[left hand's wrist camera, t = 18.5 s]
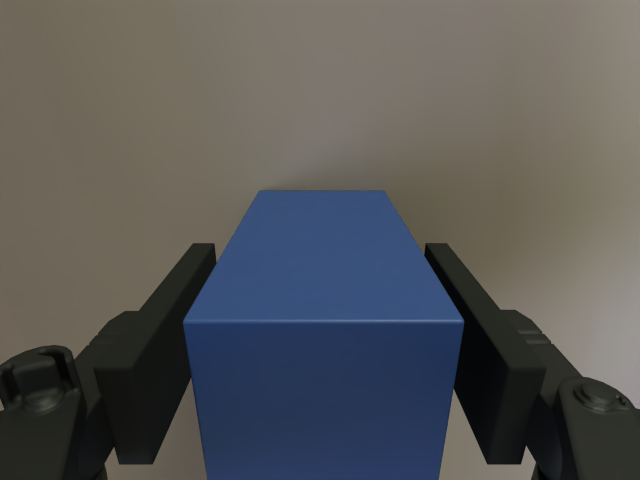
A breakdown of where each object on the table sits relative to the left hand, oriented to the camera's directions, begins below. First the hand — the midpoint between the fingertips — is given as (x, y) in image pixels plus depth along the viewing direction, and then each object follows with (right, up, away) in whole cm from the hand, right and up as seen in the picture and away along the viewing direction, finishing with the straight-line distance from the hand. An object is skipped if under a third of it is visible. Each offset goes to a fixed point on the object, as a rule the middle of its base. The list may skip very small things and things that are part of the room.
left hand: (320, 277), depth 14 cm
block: (0, +1, +1) cm, 1 cm away
